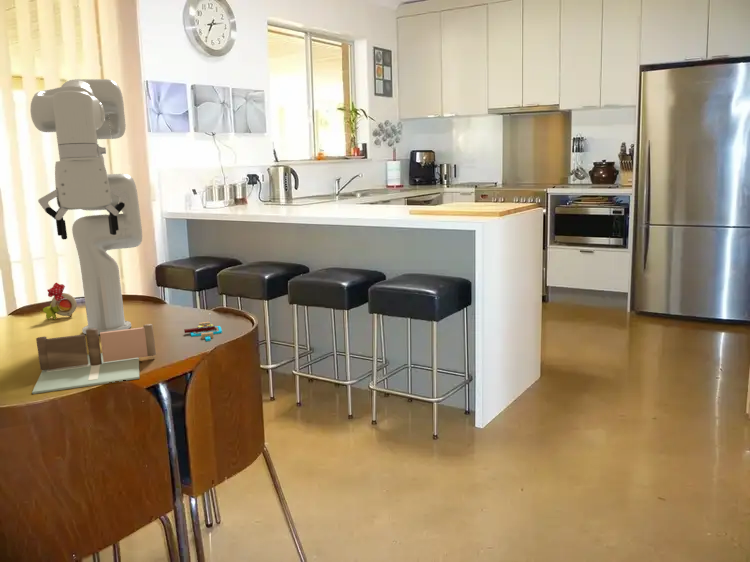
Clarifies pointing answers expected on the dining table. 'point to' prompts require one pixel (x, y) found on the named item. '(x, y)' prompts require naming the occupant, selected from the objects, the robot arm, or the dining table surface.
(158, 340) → the dining table surface
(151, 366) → the dining table surface
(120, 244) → the robot arm
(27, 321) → the dining table surface
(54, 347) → the fence fixed
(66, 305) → the bird rattle
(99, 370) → the card
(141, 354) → the pink rectangular panel
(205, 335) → the gear mechanism
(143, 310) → the dining table surface
